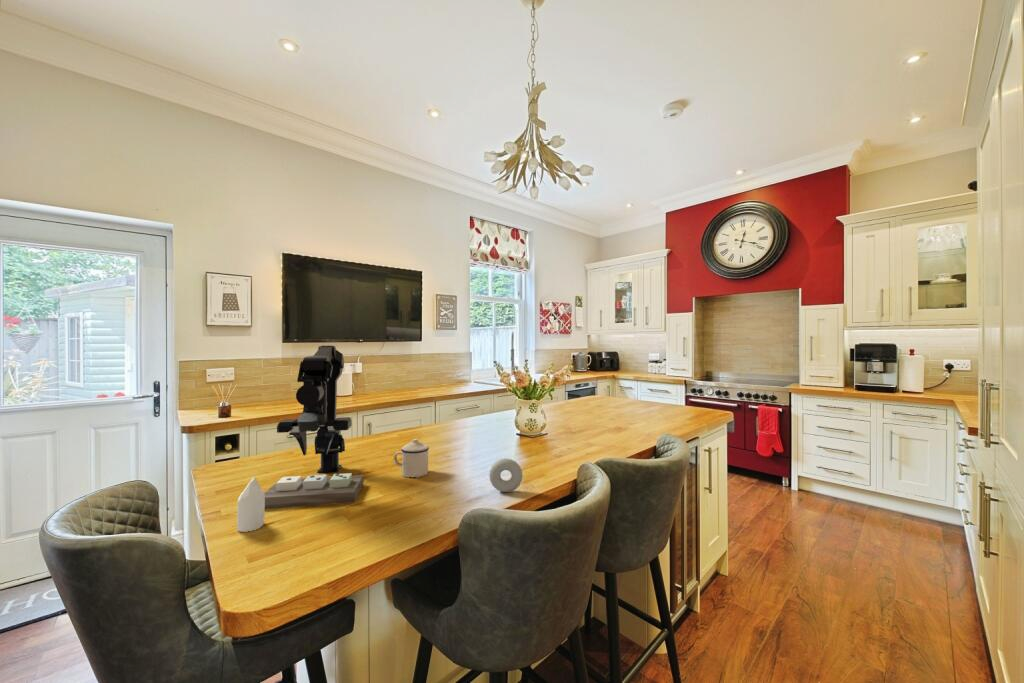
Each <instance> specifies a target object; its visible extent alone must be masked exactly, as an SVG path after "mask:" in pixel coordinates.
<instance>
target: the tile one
mask: <svg viewBox="0 0 1024 683" xmlns="http://www.w3.org/2000/svg"><path fill="white" fill-rule="evenodd" d="M301 478H302V475H295V476H282V477H281V478H280V479H278V480H279V481H278V482H277V481H276V482H277V483H276V482H275V483H276V491H289V490H297V489H298V488H299V487H300V485H301Z"/></svg>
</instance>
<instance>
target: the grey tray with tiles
mask: <svg viewBox="0 0 1024 683" xmlns="http://www.w3.org/2000/svg"><path fill="white" fill-rule="evenodd" d="M306 478H307V477H303V478H302V477H301V485H300V487H299V488H298V489H297V490H289V491H276V483H277V482H278V481H279V480H280V479H278V481H276V482H275V483H274V484H272V486H270V487H269V488H268V489H267V490H266V491H264V492H265V510H266V509H267V508H269V509H280V508H293V507H294V508H295V507H310V506H324V504H327V505H339V504H338V503H341V504H352V503H355V502H356V500H357V498H358V496H359V494H360V492H361V490H362V488H363V486H364V474H359V475H357V474H356V475H352V483H351V484H350V486H349V487H338V488H330V479H331V478H332V476H327V484H326V485H325V486H324V488H322V489H306V490H303V481H304V480H305V479H306ZM361 487H362V488H361ZM267 510H268V509H267Z"/></svg>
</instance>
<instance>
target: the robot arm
mask: <svg viewBox="0 0 1024 683" xmlns="http://www.w3.org/2000/svg"><path fill="white" fill-rule="evenodd" d="M344 368H345V358H344V354H343V353H341V352H340V351H339V350H338V349H337V348H336V346H335V345H320V346H319V345H318V348H317V350H316V352H315V353H314V355H311V356H310V355H309V356H305V357H303V359H302V360H301V361H300V363H299V370H298V376H297V379H296V380H297V383H303V385H302V386H300V387H299V388H298V389H297V390H296V393H295V399H296V401H297V402H298V404H300V405H301V406H303V408H302V413H301V414H300V416H299V418H286V419H283V420H281V421H279V422H278V423H277V425H276V433H278V434H281V433H288V435H289V436H293V437H294V438H295V439H296V441H297V443H298V446H299V447H300V450H301V453H302V454H303V455H302V456H306V455H307V450H308V445H307V444H308V443H307V432H316V436H315V437H314V452H315V453H314V454H315V455H320V467H319V469H317V471H316V473H336V472H337V473H338V471H339V470H340V469H341V467H342V464H340V462H339V460H340V458H339V457H340V454H339V453H343V452H345V451H346V444H345V438H344V436H343V434H341V432H342V431H348V430H350V429H351V427H352V425H353V423H352V422H353V421H352V418H351V417H347V416H345V417H344V416H341V417H337V403H338V402H337V401H338V400H337V396H338V394H337V389H338V381H339V378H340V377H341V376H342V374H343V370H344Z"/></svg>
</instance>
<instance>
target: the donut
mask: <svg viewBox="0 0 1024 683" xmlns="http://www.w3.org/2000/svg"><path fill="white" fill-rule="evenodd" d="M504 471H509V472H510V474H511V477H510V478H509V479H507V480H506V479H503V478H502V476H501V473H503V472H504ZM488 475H489V481H490V483H491V485H492V487H493V488H494V489H495V490H497V491H498V492H500V493H501V492H502V493H511V492H513V491H515V490H517V489H518V487H520V485H521V483H522V481H523V475H524V474H523V470H522V467H521V466H520V464H519V463H517V461H515V460H513V459H511V458H500V459H499V460H496V461H495V462H494V463H493V464H492V466H491V467H490V469H489V474H488Z"/></svg>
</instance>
